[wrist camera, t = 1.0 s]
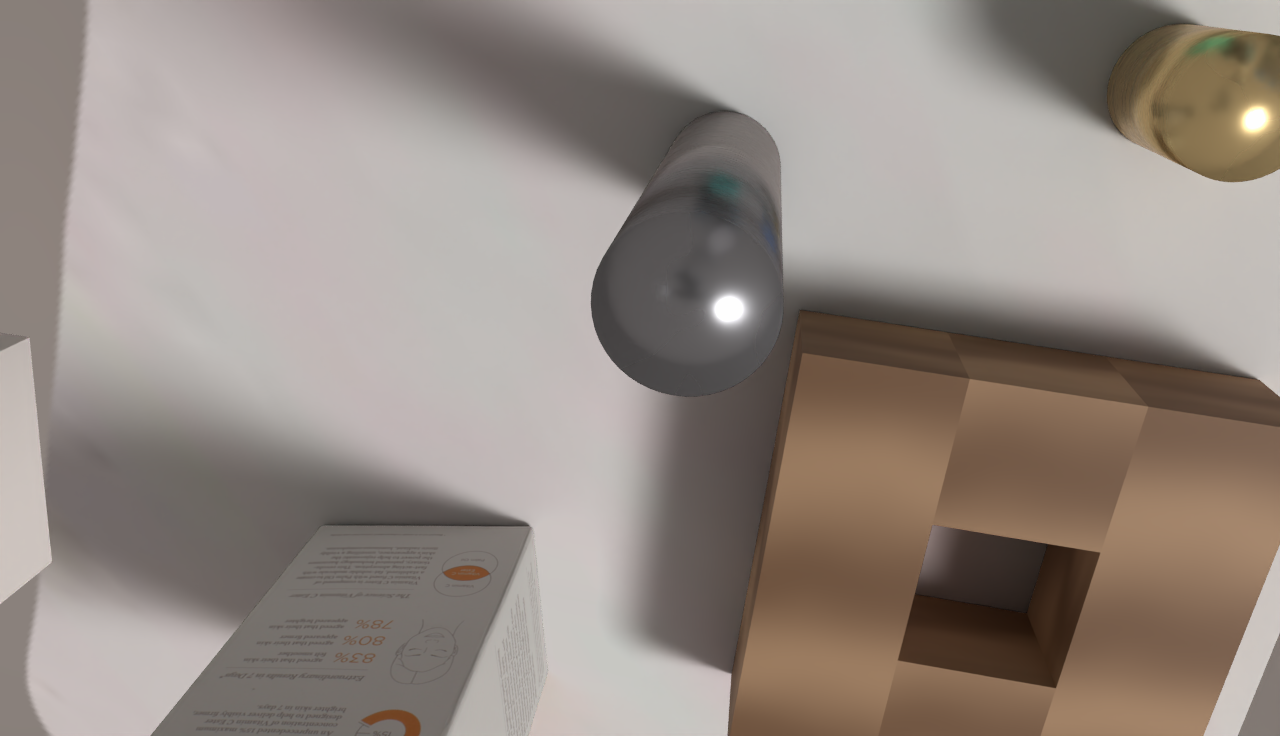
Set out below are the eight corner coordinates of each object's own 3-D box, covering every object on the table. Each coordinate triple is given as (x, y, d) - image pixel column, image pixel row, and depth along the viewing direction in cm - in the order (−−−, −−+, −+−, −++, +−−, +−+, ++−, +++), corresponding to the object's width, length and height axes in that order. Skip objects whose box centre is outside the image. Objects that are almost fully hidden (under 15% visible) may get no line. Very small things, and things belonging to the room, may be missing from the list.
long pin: (675, 103, 31) (601, 198, 18) (789, 119, 31) (799, 227, 18) (660, 216, 32) (582, 380, 19) (770, 232, 32) (766, 409, 19)
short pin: (1127, 16, 29) (1194, 24, 24) (1254, 32, 28) (1347, 44, 24) (1092, 140, 30) (1150, 171, 25) (1214, 157, 30) (1295, 191, 25)
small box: (346, 667, 40) (158, 971, 28) (318, 520, 38) (101, 779, 25) (554, 673, 39) (453, 992, 27) (538, 522, 36) (420, 794, 24)
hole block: (799, 309, 33) (802, 352, 29) (1259, 380, 32) (1323, 434, 28) (731, 674, 38) (726, 751, 34) (1125, 745, 37) (1164, 831, 33)
